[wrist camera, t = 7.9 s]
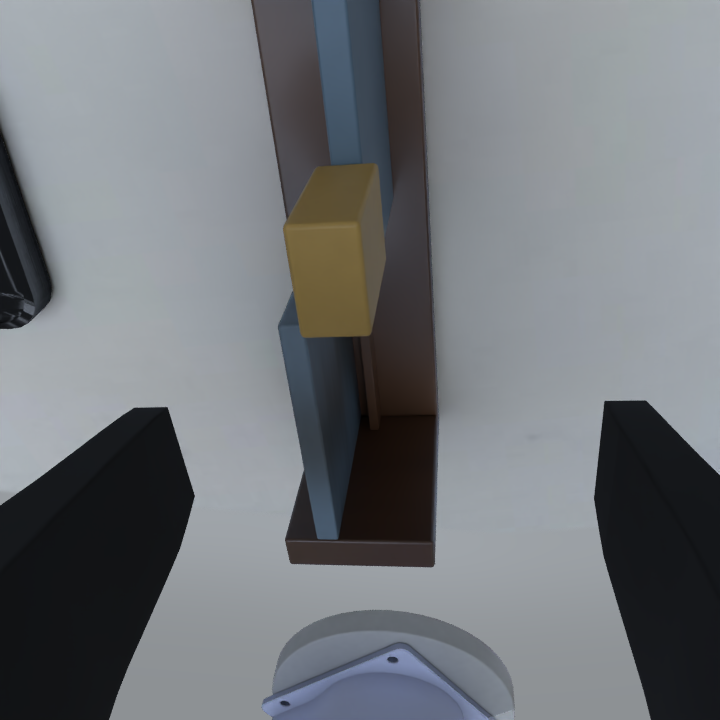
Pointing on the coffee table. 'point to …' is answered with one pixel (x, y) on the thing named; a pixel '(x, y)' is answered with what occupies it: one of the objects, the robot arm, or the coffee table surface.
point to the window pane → (344, 180)
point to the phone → (18, 256)
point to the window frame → (391, 323)
